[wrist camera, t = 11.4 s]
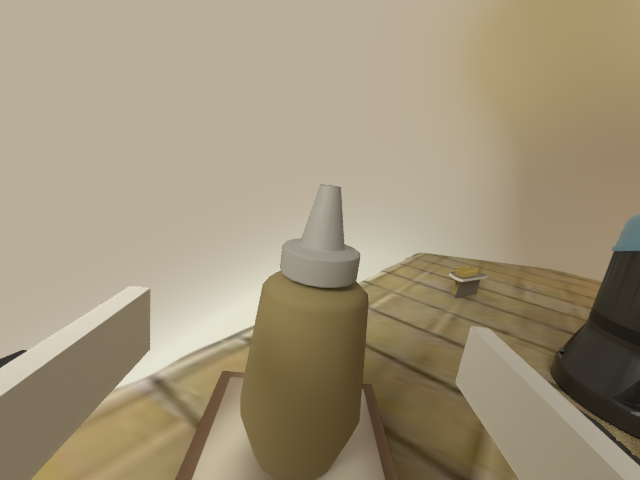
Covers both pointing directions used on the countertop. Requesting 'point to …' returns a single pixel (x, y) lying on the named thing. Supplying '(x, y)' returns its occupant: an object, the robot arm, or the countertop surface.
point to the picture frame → (237, 456)
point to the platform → (466, 281)
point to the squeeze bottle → (307, 351)
